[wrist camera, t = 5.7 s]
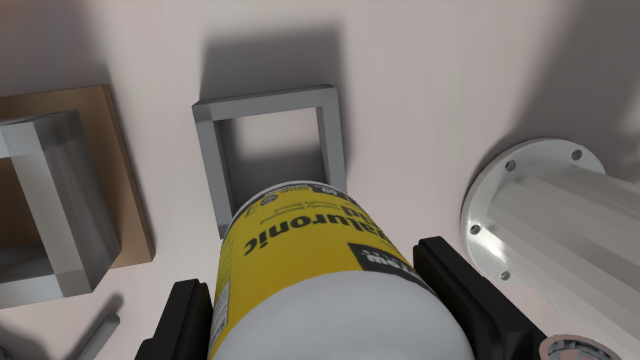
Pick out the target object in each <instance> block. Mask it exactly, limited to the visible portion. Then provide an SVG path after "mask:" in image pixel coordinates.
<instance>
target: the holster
mask: <svg viewBox="0 0 640 360" xmlns="http://www.w3.org/2000/svg"><path fill="white" fill-rule="evenodd" d="M311 107H316V113H317V121H318V130H319V138H320V147H321V156H322V164H323V173H324V182H325V184H327V185H330V186H333V187H335V188H337V189H339V190H341V191H342V192H344V193H345V194H347V187H346V176H345V166H344V156H343V146H342V135H341V125H340V115H339V104H338V94H337V87H335V86H332V85H329V84H326V85H318V86H311V87H303V88H295V89H287V90H280V91H272V92H264V93H257V94H249V95H241V96H233V97H226V98H218V99H210V100H203V101H198V102H197V103H195V104H194V105H192V110H193V115H194V120H195V124H196V129H197V134H198V138H199V143H200V147H201V152H202V157H203V161H204V166H205V171H206V175H207V180H208V184H209V189H210V194H211V198H212V203H213V207H214V212H215V217H216V221H217V226H218V231H219V235H220V239H224V237H225V234H226V231H227V229H228V227H229V225H230V223H231V221H232V219H233V218H234V216H235V215H236V213H237V212H238V211H239V210H240V208H241V207H242V206H243V205H239V206H235V201H234V196H233V191H232V186H231V181H230V176H229V171H228V166H227V161H226V156H225V151H224V146H223V141H222V135H221V130H220V125H219V120H223V119H230V118H238V117H245V116H252V115H260V114H267V113H274V112H282V111H289V110H296V109H304V108H311Z"/></svg>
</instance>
